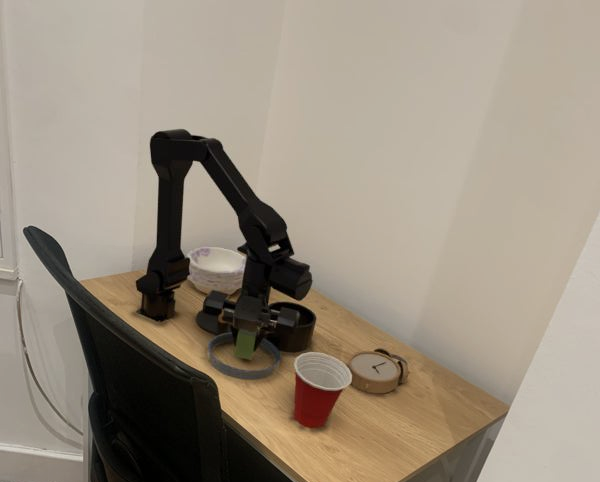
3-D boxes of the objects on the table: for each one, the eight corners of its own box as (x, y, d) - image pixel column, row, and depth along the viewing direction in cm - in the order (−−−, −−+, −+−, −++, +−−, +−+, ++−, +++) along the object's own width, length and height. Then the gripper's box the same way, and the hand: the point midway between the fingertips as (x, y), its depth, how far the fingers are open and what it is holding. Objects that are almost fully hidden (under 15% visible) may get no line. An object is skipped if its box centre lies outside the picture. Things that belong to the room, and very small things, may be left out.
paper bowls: (193, 268, 165) (196, 240, 161) (250, 283, 165) (255, 254, 161) (175, 293, 152) (178, 262, 148) (237, 308, 152) (242, 278, 148)
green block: (234, 356, 131) (237, 332, 128) (237, 347, 134) (241, 324, 131) (251, 360, 131) (255, 337, 128) (254, 351, 134) (258, 328, 131)
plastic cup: (313, 447, 115) (328, 393, 109) (270, 416, 120) (281, 362, 114) (349, 425, 123) (365, 373, 116) (307, 396, 128) (319, 345, 121)
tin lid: (184, 324, 142) (186, 305, 139) (214, 305, 151) (216, 288, 149) (232, 345, 138) (235, 326, 136) (259, 324, 148) (262, 306, 145)
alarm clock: (336, 359, 136) (387, 336, 144) (334, 377, 139) (384, 353, 147) (372, 388, 130) (424, 362, 137) (369, 406, 133) (419, 380, 140)
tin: (251, 341, 141) (256, 313, 137) (275, 323, 150) (280, 296, 146) (296, 360, 138) (303, 332, 134) (317, 341, 147) (324, 314, 143)
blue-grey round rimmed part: (192, 362, 130) (193, 351, 129) (230, 334, 142) (232, 324, 140) (256, 391, 126) (258, 380, 125) (290, 360, 138) (292, 350, 137)
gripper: (199, 284, 117) (190, 356, 125) (299, 309, 117) (283, 379, 125) (214, 262, 126) (205, 330, 135) (306, 284, 126) (291, 351, 135)
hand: (245, 348), depth 132 cm, fingers closed on green block, 3 cm apart
